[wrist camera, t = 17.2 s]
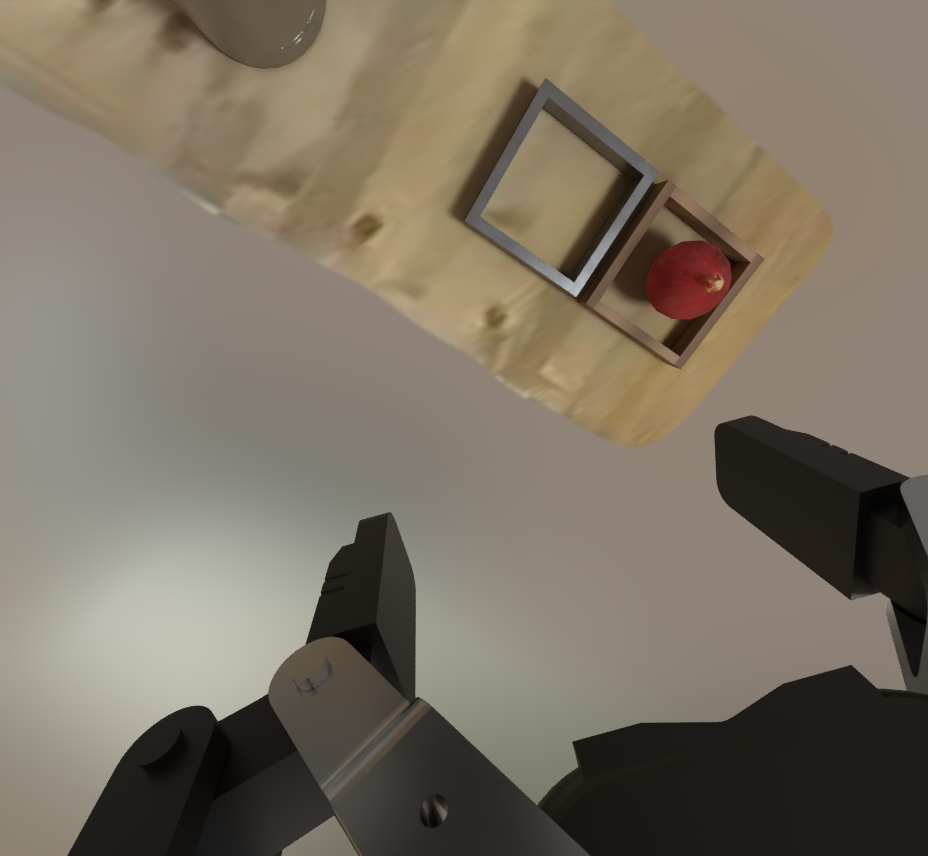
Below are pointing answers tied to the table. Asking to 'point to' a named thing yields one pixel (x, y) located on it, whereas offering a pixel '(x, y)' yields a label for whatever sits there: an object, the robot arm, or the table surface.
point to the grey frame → (599, 141)
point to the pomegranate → (688, 280)
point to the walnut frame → (646, 214)
